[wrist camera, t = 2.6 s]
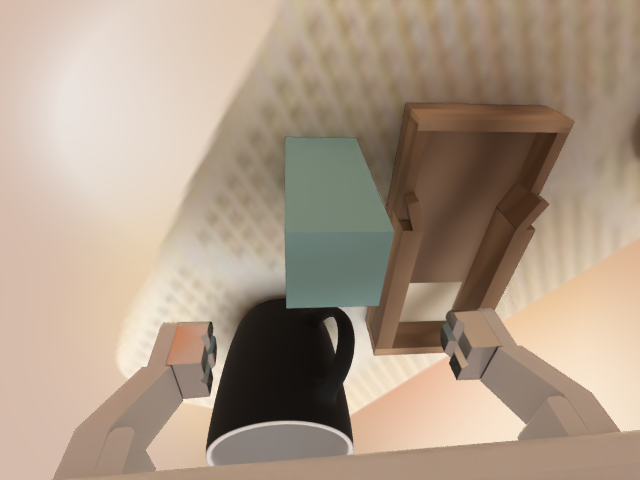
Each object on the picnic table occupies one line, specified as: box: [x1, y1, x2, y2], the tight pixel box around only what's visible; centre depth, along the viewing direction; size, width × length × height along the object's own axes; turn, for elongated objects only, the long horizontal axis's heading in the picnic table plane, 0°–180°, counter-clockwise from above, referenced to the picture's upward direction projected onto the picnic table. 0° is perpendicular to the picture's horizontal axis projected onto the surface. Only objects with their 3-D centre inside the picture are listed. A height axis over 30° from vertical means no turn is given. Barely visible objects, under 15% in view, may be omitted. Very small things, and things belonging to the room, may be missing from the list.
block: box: [285, 137, 394, 308], centre depth 18 cm, size 4×4×9 cm
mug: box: [206, 299, 355, 466], centre depth 25 cm, size 12×9×10 cm
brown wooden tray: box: [366, 103, 575, 356], centre depth 23 cm, size 8×18×4 cm, turn 178°
